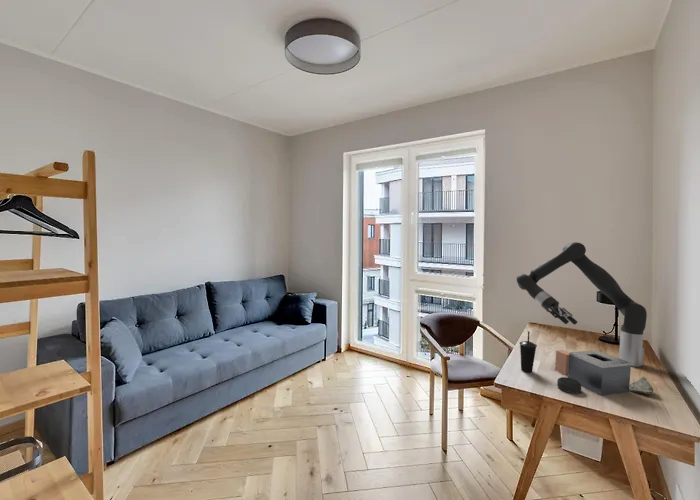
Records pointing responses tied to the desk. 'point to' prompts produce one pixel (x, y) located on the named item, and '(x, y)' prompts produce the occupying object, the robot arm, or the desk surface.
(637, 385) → the rock sample
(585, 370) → the coin box
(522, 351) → the drinking cup
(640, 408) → the desk surface
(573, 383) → the smart speaker
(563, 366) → the salmon orange block
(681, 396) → the desk surface
